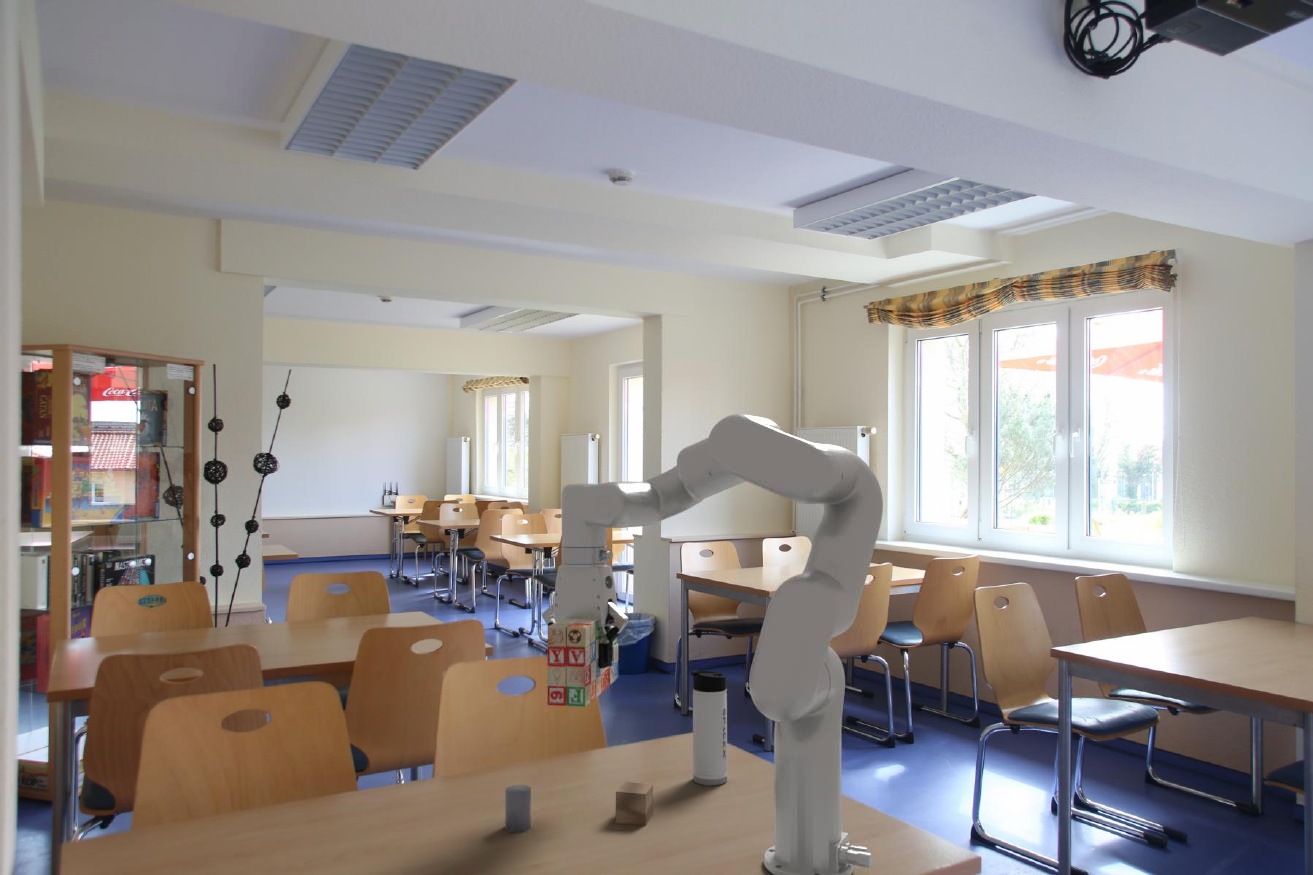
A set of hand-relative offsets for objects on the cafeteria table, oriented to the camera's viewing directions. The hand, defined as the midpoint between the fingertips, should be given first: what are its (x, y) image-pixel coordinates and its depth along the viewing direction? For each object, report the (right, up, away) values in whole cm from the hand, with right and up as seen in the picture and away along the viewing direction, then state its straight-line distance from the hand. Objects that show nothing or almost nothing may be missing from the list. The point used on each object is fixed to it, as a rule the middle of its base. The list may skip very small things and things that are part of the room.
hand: (584, 664), depth 148 cm
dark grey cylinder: (-10, -24, -6) cm, 27 cm away
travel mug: (+22, -26, +17) cm, 38 cm away
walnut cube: (+8, -25, -2) cm, 26 cm away
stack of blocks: (0, -5, 0) cm, 5 cm away
